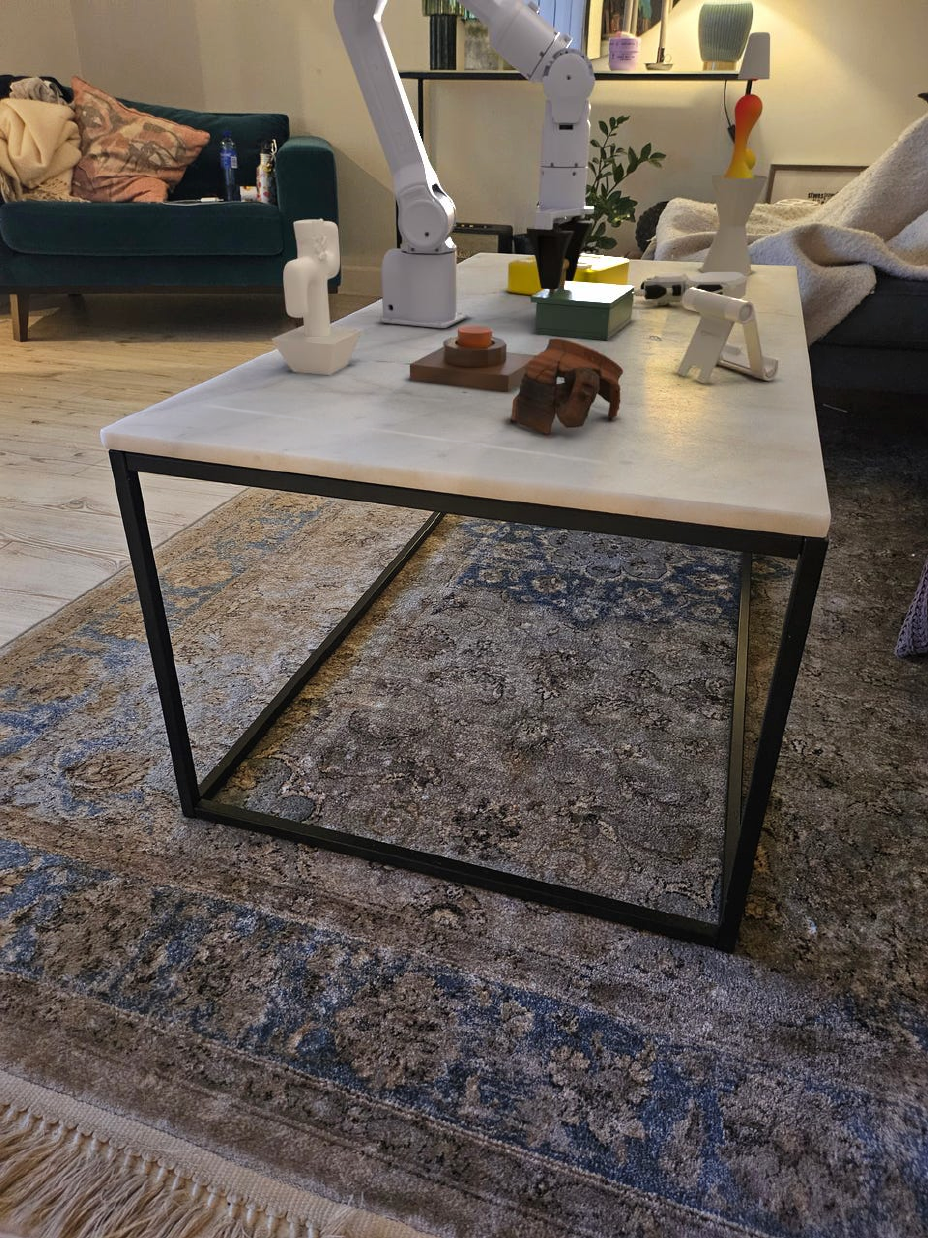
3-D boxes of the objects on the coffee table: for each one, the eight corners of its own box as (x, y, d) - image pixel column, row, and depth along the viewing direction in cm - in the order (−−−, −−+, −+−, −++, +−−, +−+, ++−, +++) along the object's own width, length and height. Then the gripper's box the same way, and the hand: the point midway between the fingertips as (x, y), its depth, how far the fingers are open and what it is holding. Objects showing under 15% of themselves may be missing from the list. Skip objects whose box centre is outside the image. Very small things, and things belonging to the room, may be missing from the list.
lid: (530, 302, 110) (531, 267, 108) (560, 286, 120) (562, 253, 118) (609, 308, 106) (612, 272, 104) (634, 291, 116) (637, 258, 114)
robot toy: (629, 314, 125) (737, 316, 120) (629, 281, 123) (740, 280, 117) (649, 300, 135) (750, 300, 129) (650, 268, 133) (753, 267, 127)
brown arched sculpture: (492, 415, 83) (528, 332, 82) (577, 455, 86) (613, 376, 84) (527, 421, 72) (569, 324, 70) (624, 467, 74) (666, 375, 73)
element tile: (631, 287, 140) (634, 255, 138) (590, 302, 129) (593, 267, 127) (547, 278, 147) (549, 247, 144) (502, 292, 136) (503, 259, 134)
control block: (409, 380, 92) (408, 346, 90) (444, 360, 99) (444, 328, 97) (507, 392, 88) (508, 357, 87) (536, 371, 95) (538, 338, 94)
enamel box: (534, 333, 111) (536, 303, 109) (564, 315, 121) (565, 286, 119) (607, 340, 108) (609, 309, 106) (631, 321, 118) (634, 292, 116)
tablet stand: (775, 380, 93) (791, 297, 88) (717, 389, 90) (730, 303, 85) (721, 361, 99) (732, 283, 95) (665, 369, 96) (674, 289, 92)
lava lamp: (743, 277, 149) (781, 29, 131) (692, 272, 153) (722, 31, 136) (759, 270, 155) (797, 33, 138) (709, 265, 160) (740, 35, 142)
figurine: (269, 376, 93) (252, 222, 86) (311, 355, 101) (299, 212, 93) (330, 382, 91) (318, 225, 84) (368, 361, 99) (361, 215, 91)
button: (452, 348, 91) (452, 331, 90) (465, 341, 94) (465, 324, 93) (484, 351, 90) (484, 334, 89) (496, 344, 93) (497, 327, 92)
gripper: (578, 170, 100) (570, 296, 106) (611, 164, 111) (602, 277, 118) (519, 168, 102) (516, 291, 109) (558, 162, 113) (552, 274, 120)
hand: (557, 284), depth 114 cm, fingers open, 6 cm apart
